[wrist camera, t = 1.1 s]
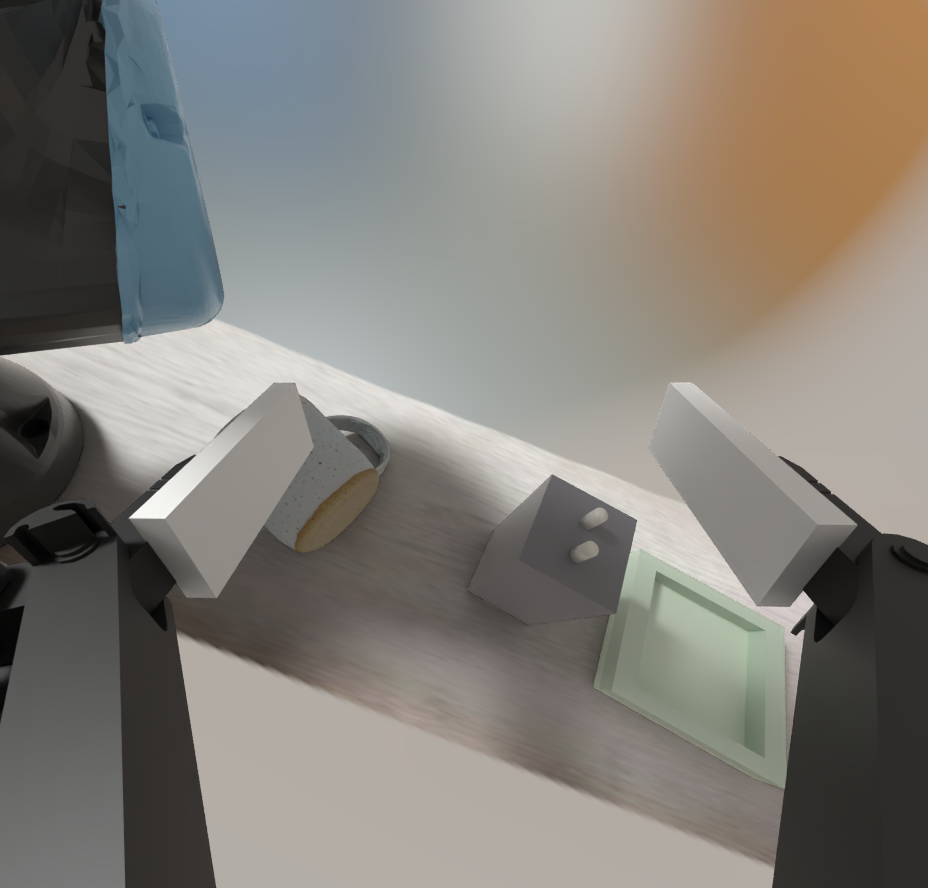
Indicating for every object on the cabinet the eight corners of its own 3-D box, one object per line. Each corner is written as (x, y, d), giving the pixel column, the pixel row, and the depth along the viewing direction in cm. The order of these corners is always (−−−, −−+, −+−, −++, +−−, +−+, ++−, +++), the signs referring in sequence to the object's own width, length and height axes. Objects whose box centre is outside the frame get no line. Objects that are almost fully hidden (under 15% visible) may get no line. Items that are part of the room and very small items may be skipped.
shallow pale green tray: (592, 687, 25) (611, 690, 23) (623, 555, 30) (640, 549, 28) (753, 778, 24) (787, 790, 23) (756, 628, 30) (784, 627, 28)
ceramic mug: (309, 572, 25) (288, 544, 18) (226, 495, 26) (178, 442, 19) (413, 468, 30) (426, 418, 24) (340, 408, 31) (333, 344, 25)
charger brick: (466, 590, 26) (529, 553, 16) (493, 529, 29) (563, 463, 18) (528, 625, 26) (635, 611, 15) (550, 561, 29) (654, 511, 18)
